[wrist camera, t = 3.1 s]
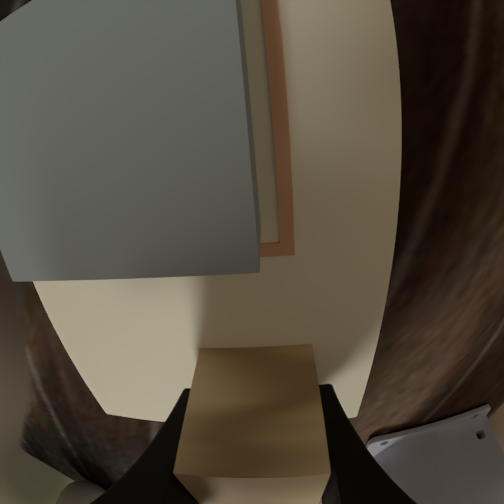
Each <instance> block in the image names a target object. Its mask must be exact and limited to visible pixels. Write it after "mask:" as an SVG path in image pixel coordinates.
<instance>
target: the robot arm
mask: <svg viewBox="0 0 504 504" xmlns="http://www.w3.org/2000/svg"><path fill="white" fill-rule="evenodd" d="M190 389H191V388H185V389H184V390H183V391H182V393H181V395H180V397H179V399H178V401H177V402H176V404H175V406H174V408H173V409H172V411H171V413H170V414H169V416H168V418H167V419H166V421H165V423H164V424H163V426H162V427H161V429H160V430H159V432H158V433H157V435H156V436H155V438H154V439H153V440H152V442H151V443H150V444H149V446H148V447H147V448H146V450H145V451H144V452H143V454H142V455H141V456H140V457H139V458H138V460H137V461H136V462H135V463H134V464H133V465H132V467H131V468H130V469H129V470H128V471H127V472H126V473H125V474H124V475H123V476H122V477H121V478H120V479H119V480H118V481H117V482H116V483H115V484H114V485H112V486H111V487H110V488H109V489H108V490H107V491H105V492H104V493H103V494H102V495H100V496H99V497H98V498H97V499H95V500H94V501H93V502H91V503H90V504H199V502H198V501H197V500H196V499H195V498H194V497H193V496H192V495H191V494H190V492H189V491H188V490H187V489H186V488H185V487H184V486H183V484H182V483H181V482H180V481H179V480H178V479H177V477H176V476H175V475H174V474H173V471H174V466H175V461H176V456H177V451H178V446H179V441H180V436H181V431H182V427H183V422H184V417H185V412H186V408H187V403H188V399H189V394H190ZM319 390H320V396H321V403H322V410H323V417H324V424H325V431H326V438H327V446H328V453H329V461H330V470H331V474H330V477H329V480H328V482H327V485H326V487H325V490H324V492H323V495H322V504H504V454H503V452H502V449H501V447H500V444H499V442H498V440H497V437H496V435H495V433H494V431H493V428H492V426H491V424H490V422H489V420H488V418H487V416H486V415H487V414H488V412H489V411H490V409H491V407H490V405H489V404H487V405H484V406H481V407H479V408H476V409H473V410H471V411H468V412H465V413H462V414H459V415H456V416H453V417H450V418H447V419H444V420H441V421H437V422H434V423H431V424H427V425H423V426H420V427H416V428H412V429H408V430H404V431H400V432H395V433H391V434H386V435H381V436H377V437H373V438H371V439H370V440H369V441H368V443H367V445H366V446H365V445H364V443H363V442H362V440H361V439H360V437H359V436H358V434H357V432H356V431H355V429H354V427H353V426H352V424H351V423H350V421H349V419H348V417H347V415H346V414H345V412H344V410H343V408H342V406H341V404H340V402H339V400H338V397H337V395H336V393H335V390H334V388H333V385H331V384H322V385H319Z"/></svg>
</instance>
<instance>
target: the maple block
mask: <svg viewBox="0 0 504 504" xmlns="http://www.w3.org/2000/svg"><path fill="white" fill-rule="evenodd" d="M173 474H174V475H175V476H176V477H177V479H178V480H179V481H180V482H181V483H182V484H183V486H184V487H185V488H186V489H187V490H188V491H189V492H190V494H191V495H192V496H193V497H194V498H195V499H196V500H197V501H198V502H199V503H200V504H319V502H320V499H321V497H322V495H323V492H324V490H325V487H326V485H327V482H328V480H329V477H330V474H331V470H330V461H329V453H328V446H327V438H326V431H325V424H324V417H323V410H322V403H321V396H320V390H319V383H318V377H317V371H316V365H315V358H314V353H313V347H312V344H301V345H287V346H269V347H244V348H200V350H199V354H198V358H197V363H196V367H195V371H194V376H193V380H192V385H191V389H190V394H189V399H188V403H187V408H186V412H185V417H184V422H183V427H182V431H181V436H180V441H179V446H178V451H177V456H176V461H175V466H174V471H173Z"/></svg>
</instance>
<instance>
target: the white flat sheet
mask: <svg viewBox="0 0 504 504" xmlns="http://www.w3.org/2000/svg"><path fill="white" fill-rule="evenodd" d="M241 9H242V19H243V29H244V39H245V50H246V60H247V71H248V82H249V93H250V104H251V115H252V127H253V138H254V150H255V162H256V174H257V186H258V199H259V211H260V224H261V239H260V273H246V274H228V275H208V276H186V277H163V278H137V279H107V280H69V281H33V283H34V285H35V287H36V290H37V292H38V294H39V297H40V299H41V301H42V303H43V306H44V308H45V310H46V312H47V314H48V316H49V318H50V320H51V322H52V324H53V326H54V328H55V330H56V332H57V334H58V336H59V338H60V340H61V342H62V344H63V345H64V347H65V349H66V351H67V353H68V354H69V356H70V358H71V360H72V361H73V363H74V365H75V366H76V368H77V370H78V371H79V373H80V375H81V376H82V378H83V380H84V381H85V383H86V384H87V386H88V387H89V389H90V390H91V392H92V393H93V395H94V396H95V398H96V399H97V401H98V402H99V404H100V405H101V407H102V408H103V410H104V411H105V412H106V414H112V415H118V416H124V417H130V418H137V419H145V420H153V421H162V422H165V421H166V419H167V418H168V416H169V414H170V413H171V411H172V409H173V408H174V406H175V404H176V402H177V401H178V399H179V397H180V395H181V393H182V391H183V390H184V389H185V388H191V385H192V380H193V376H194V371H195V367H196V363H197V358H198V354H199V350H200V348H244V347H269V346H287V345H301V344H312V347H313V353H314V358H315V365H316V371H317V377H318V383H319V385H322V384H331V385H333V388H334V390H335V393H336V395H337V397H338V400H339V402H340V404H341V406H342V408H343V410H344V412H345V414H346V415H347V417H348V418H352V417H357V414H358V411H359V407H360V404H361V401H362V398H363V394H364V391H365V388H366V384H367V381H368V377H369V373H370V370H371V366H372V362H373V358H374V354H375V350H376V346H377V342H378V337H379V333H380V328H381V324H382V319H383V314H384V309H385V304H386V298H387V293H388V287H389V281H390V275H391V268H392V261H393V254H394V246H395V238H396V229H397V219H398V208H399V195H400V178H401V149H402V120H401V91H400V75H399V63H398V52H397V43H396V35H395V28H394V21H393V14H392V8H391V2H390V0H241Z"/></svg>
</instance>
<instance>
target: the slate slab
mask: <svg viewBox="0 0 504 504" xmlns="http://www.w3.org/2000/svg"><path fill="white" fill-rule="evenodd" d="M260 239H261V224H260V211H259V199H258V186H257V174H256V162H255V150H254V138H253V127H252V115H251V104H250V93H249V82H248V71H247V60H246V50H245V39H244V29H243V19H242V9H241V0H32V1H31V2H29V3H27V4H26V5H24V6H23V7H21V8H19V9H18V10H16V11H15V12H13V13H12V14H10V15H9V16H8V17H6V18H5V19H3V20H2V21H1V22H0V250H1V252H2V255H3V258H4V260H5V263H6V266H7V268H8V271H9V273H10V276H11V278H12V281H69V280H107V279H137V278H163V277H186V276H208V275H228V274H246V273H260Z"/></svg>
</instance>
